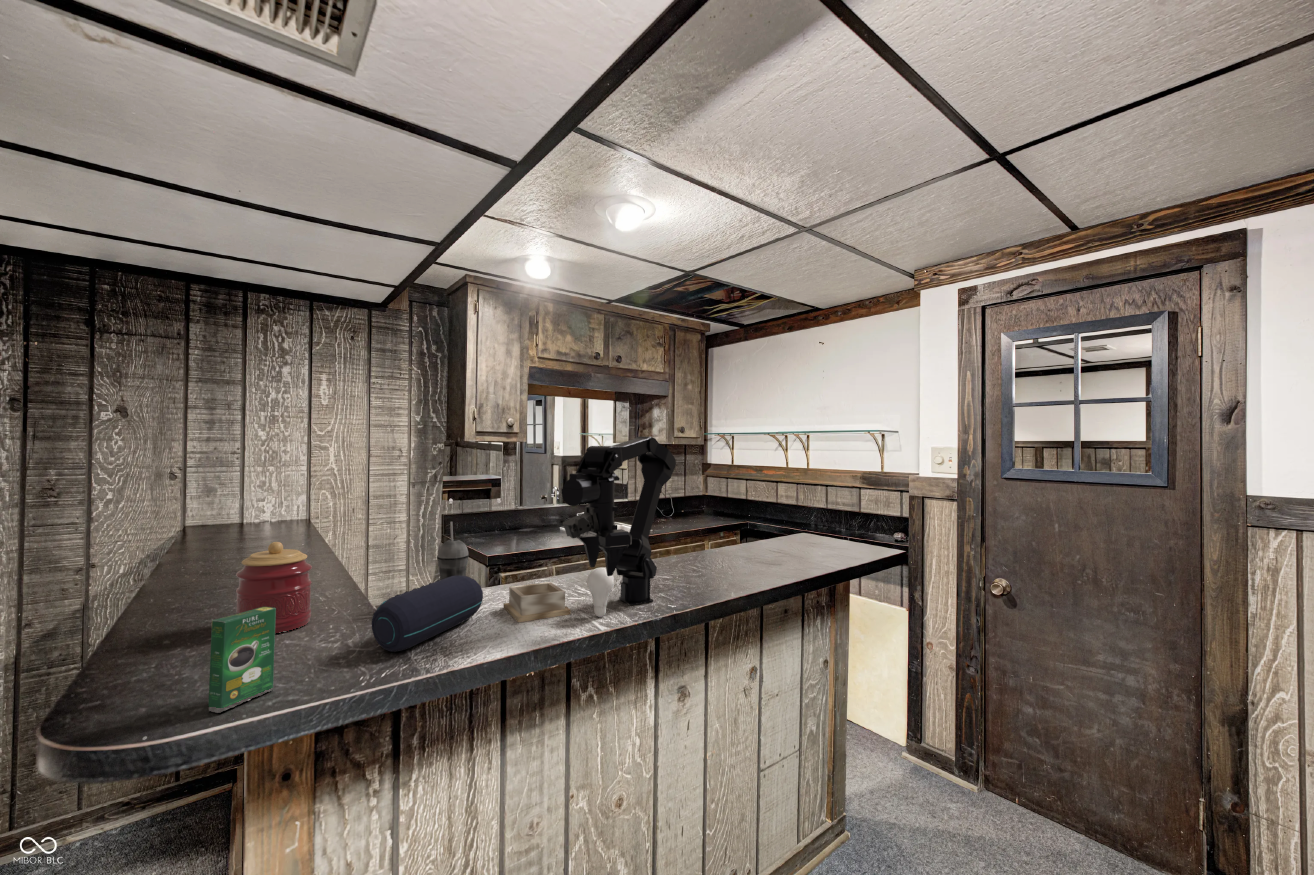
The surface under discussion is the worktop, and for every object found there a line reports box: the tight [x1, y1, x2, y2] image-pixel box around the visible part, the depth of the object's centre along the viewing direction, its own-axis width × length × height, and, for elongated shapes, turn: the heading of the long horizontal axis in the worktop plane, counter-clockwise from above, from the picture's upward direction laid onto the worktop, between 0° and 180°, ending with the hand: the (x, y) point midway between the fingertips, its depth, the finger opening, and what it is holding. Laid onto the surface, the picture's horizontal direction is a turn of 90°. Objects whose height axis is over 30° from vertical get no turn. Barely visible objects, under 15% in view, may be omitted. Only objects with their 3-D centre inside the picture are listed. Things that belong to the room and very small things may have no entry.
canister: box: [235, 541, 313, 633], centre depth 114 cm, size 13×13×18 cm
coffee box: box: [208, 607, 276, 708], centre depth 81 cm, size 8×3×13 cm, turn 163°
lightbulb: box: [586, 567, 615, 618], centre depth 122 cm, size 6×6×11 cm
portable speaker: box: [371, 575, 484, 653], centre depth 110 cm, size 25×10×10 cm, turn 163°
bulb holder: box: [503, 581, 572, 623], centre depth 126 cm, size 12×12×5 cm
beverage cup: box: [436, 521, 470, 580], centre depth 130 cm, size 7×7×20 cm
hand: (600, 571), depth 122 cm, fingers open, 9 cm apart
